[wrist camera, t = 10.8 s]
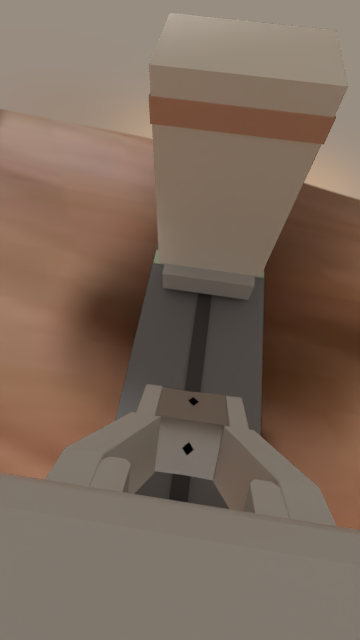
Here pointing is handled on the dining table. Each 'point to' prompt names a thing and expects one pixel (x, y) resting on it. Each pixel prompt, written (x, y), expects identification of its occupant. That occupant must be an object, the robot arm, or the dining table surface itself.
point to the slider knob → (234, 141)
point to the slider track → (196, 363)
